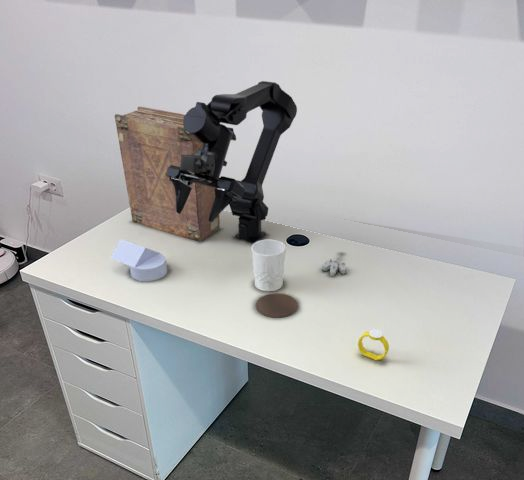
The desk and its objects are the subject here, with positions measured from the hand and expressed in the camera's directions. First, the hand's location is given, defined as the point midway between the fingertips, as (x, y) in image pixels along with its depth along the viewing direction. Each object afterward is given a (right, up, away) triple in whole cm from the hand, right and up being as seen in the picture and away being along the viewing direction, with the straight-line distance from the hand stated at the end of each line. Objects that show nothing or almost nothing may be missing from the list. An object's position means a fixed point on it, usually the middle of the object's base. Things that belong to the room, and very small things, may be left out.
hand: (193, 217), depth 124 cm
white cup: (+17, -15, +6) cm, 24 cm away
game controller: (+35, -9, +12) cm, 38 cm away
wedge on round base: (-14, -11, +12) cm, 21 cm away
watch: (+38, -32, -16) cm, 52 cm away
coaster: (+19, -21, -2) cm, 28 cm away
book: (-9, +5, +32) cm, 33 cm away
